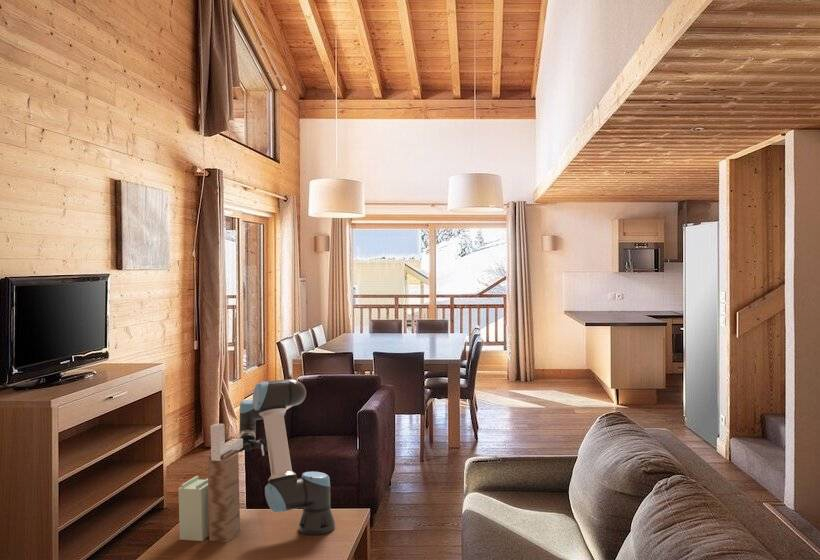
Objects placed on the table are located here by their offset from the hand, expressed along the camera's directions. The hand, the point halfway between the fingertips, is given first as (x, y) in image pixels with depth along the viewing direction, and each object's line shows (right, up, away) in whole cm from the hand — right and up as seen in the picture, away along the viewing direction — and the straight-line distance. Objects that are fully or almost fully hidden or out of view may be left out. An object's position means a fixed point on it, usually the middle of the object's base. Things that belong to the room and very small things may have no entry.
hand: (247, 456), depth 283 cm
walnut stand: (-5, -29, -16) cm, 33 cm away
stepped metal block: (-5, +4, -12) cm, 14 cm away
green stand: (-17, -29, -13) cm, 36 cm away
